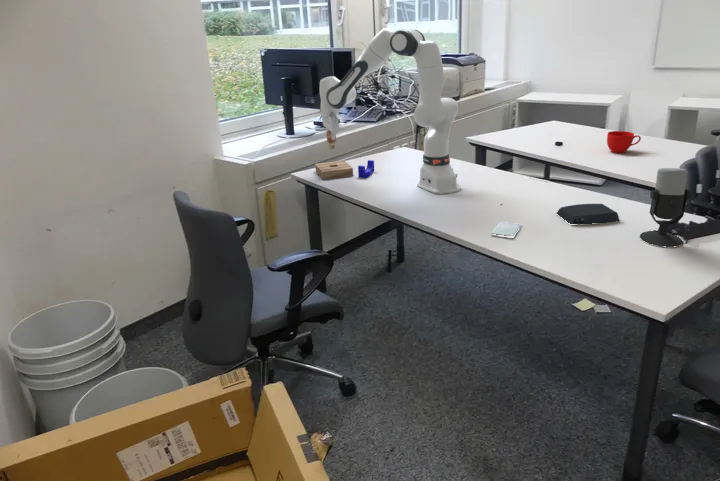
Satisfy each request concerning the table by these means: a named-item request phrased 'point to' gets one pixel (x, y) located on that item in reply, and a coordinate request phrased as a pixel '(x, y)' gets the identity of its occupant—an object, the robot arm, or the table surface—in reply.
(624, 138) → the ceramic cup
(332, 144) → the peg
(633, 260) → the table surface
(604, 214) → the external hard drive
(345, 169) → the board
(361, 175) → the cable clip
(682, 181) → the microphone
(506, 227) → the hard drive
